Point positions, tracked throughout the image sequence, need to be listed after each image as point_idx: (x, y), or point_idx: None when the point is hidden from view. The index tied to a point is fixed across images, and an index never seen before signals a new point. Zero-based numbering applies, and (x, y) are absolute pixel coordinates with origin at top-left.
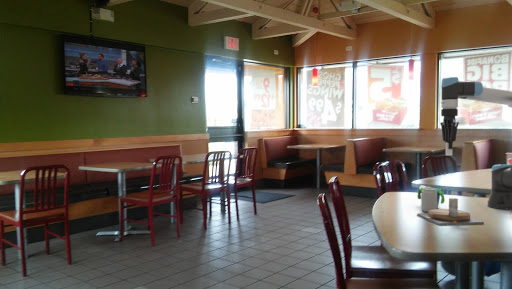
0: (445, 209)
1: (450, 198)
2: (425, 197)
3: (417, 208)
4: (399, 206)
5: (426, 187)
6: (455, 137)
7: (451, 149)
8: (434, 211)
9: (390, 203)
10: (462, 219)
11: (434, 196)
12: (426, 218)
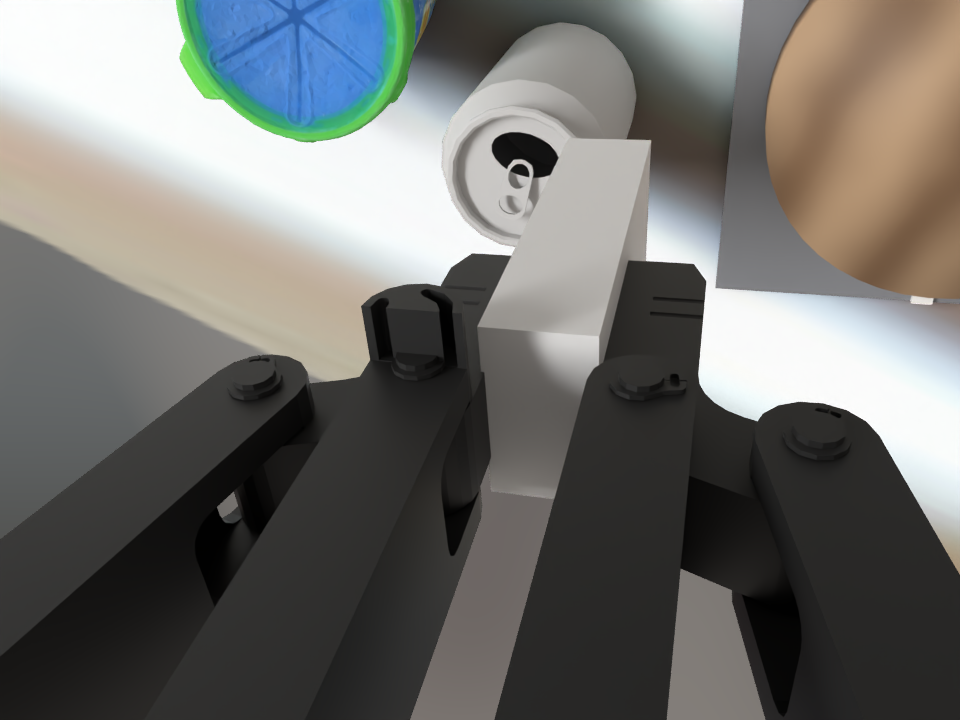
0: (815, 67)
1: None
2: None
3: (422, 131)
4: (336, 239)
5: (183, 21)
6: (941, 571)
7: (629, 239)
8: (874, 227)
9: (212, 250)
10: None
11: (615, 132)
12: (898, 296)
